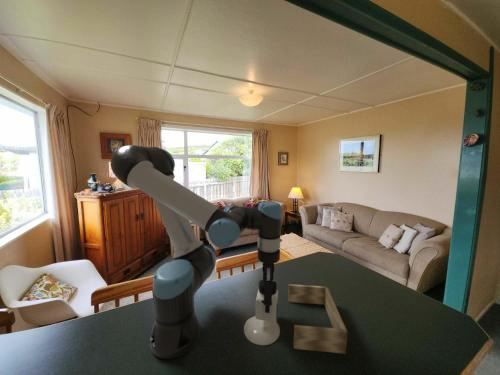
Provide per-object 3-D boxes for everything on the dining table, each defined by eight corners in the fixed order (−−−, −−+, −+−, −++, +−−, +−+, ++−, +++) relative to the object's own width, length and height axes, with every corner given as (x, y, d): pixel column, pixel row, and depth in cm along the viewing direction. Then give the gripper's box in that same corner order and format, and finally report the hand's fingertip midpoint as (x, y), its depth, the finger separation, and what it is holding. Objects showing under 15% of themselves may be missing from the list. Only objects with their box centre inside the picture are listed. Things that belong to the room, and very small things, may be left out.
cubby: (293, 348, 62) (294, 327, 61) (288, 300, 83) (288, 284, 83) (345, 353, 60) (347, 332, 59) (326, 303, 82) (327, 286, 81)
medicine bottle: (276, 322, 68) (277, 289, 66) (255, 319, 69) (256, 286, 67) (277, 307, 75) (278, 277, 73) (258, 305, 76) (259, 274, 74)
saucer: (241, 343, 63) (241, 342, 63) (246, 315, 75) (246, 314, 75) (280, 347, 62) (280, 346, 62) (279, 317, 74) (279, 316, 74)
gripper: (282, 263, 58) (279, 335, 61) (278, 237, 79) (276, 292, 81) (255, 261, 59) (254, 333, 62) (258, 236, 79) (257, 291, 82)
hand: (266, 310), depth 72 cm, fingers closed on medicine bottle, 7 cm apart
